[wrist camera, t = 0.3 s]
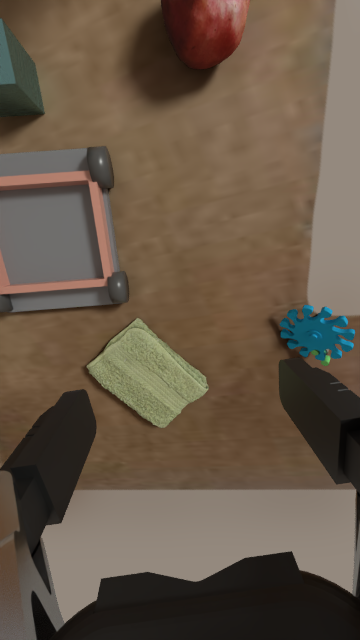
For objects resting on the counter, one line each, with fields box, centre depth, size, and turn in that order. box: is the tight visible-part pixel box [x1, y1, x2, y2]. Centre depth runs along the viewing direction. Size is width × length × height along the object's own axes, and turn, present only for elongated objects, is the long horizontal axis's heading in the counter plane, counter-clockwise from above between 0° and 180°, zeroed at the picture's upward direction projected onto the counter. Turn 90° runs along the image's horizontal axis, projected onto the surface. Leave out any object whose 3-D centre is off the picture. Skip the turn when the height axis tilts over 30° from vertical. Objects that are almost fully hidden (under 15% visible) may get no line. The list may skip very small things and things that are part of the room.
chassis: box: [0, 146, 129, 312], centre depth 32 cm, size 20×19×4 cm
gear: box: [280, 305, 355, 366], centre depth 38 cm, size 11×6×10 cm
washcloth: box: [86, 318, 209, 428], centre depth 40 cm, size 13×18×3 cm
